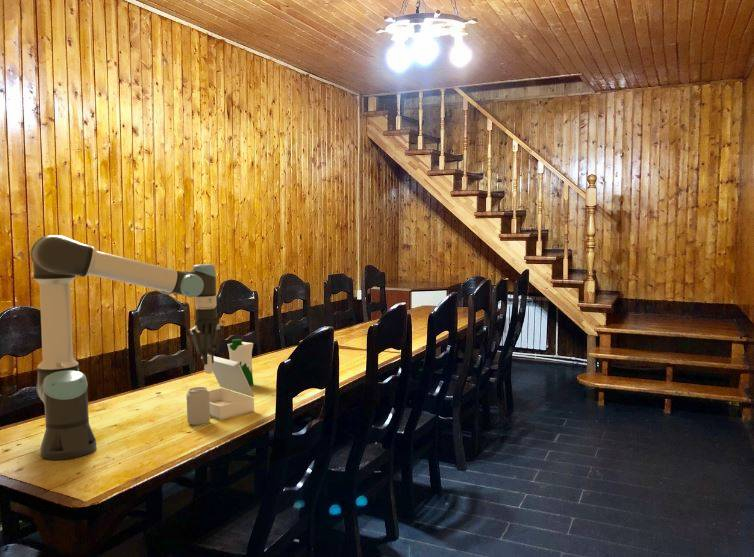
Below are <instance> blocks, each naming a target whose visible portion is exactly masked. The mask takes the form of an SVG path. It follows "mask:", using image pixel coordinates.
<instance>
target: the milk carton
mask: <svg viewBox="0 0 754 557" xmlns="http://www.w3.org/2000/svg"><path fill="white" fill-rule="evenodd" d="M253 348H254V343H253V342H248V341H247V342H246V341H243V339H241V338H234V339H231V343H227V349H228V353H229V354H228V355H229V360H231V361H235V362H239V364H240V367H241V369H242V371H243V373H244V375H245V377H246V379H247V381H248V384H249V386H250V387H251V386H253V385H254V384H255V383H254V377H253V363H252V362H253V356H252V354H253Z"/></svg>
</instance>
